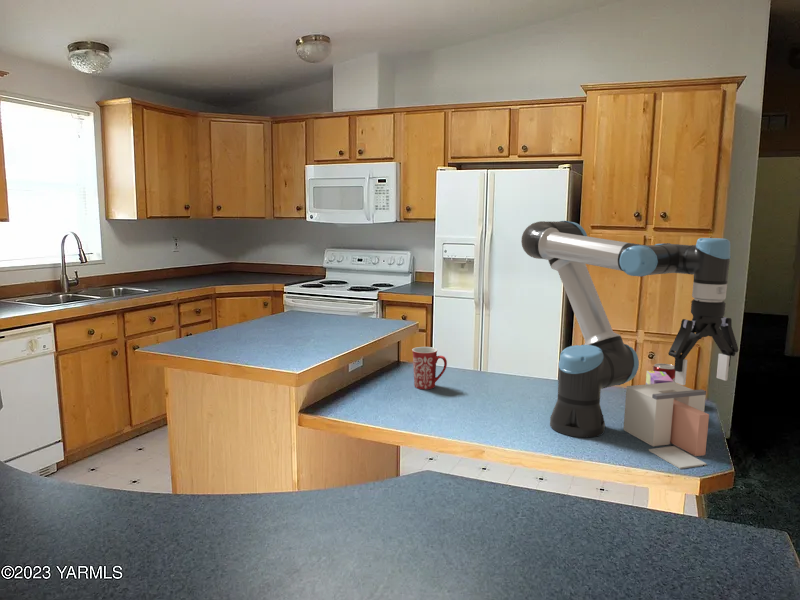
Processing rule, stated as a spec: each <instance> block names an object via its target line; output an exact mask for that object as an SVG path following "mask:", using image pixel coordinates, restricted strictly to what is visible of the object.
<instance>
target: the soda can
mask: <svg viewBox="0 0 800 600" xmlns="http://www.w3.org/2000/svg"><path fill="white" fill-rule="evenodd" d="M674 367H675V364H673V365H672V364H668V363H659V362H658V363H655V364H654V365H653V366H652V371H661V372H666V374H667V375H668V376H669V377H670V378H671V379H672V380H673V381H674V382H675V373H676V371H675V369H674Z"/></svg>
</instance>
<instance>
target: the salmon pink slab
mask: <svg viewBox="0 0 800 600" xmlns="http://www.w3.org/2000/svg"><path fill="white" fill-rule="evenodd" d="M709 420H710V414H709V413H707V412H705V411H704V412H702V411H700V410H698V409H695V408H693V407H691V406H689V405H686V404H684V403H682V402H679V401H677V400H675V399H674V401H673V413H672V424H671V436H670V444H672V445H673V446H675V447H677V448H678V449H680V450H682V451H684V452H686V453H688V454H690V455H691V456H693V457H700V456H701V457H702V456H706V452H707V451H706V449H707V439H708V432H709V431H708V429H709Z"/></svg>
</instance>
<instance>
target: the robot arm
mask: <svg viewBox="0 0 800 600" xmlns="http://www.w3.org/2000/svg"><path fill="white" fill-rule="evenodd" d="M521 246H522V249H523V251H524V252H525V254H527V255H528V256H529V257H531V258H533V259H539V260H546V261H548V263H549V266H550V269H552V270H554V271H557V273H558V275H559V278H560V280H561V283H562V285H563V287H564V290H565V293H566V295H567V298H568V300H569V303H570V305H571V309H572V311H573V314H574V316H575V319H576V321H577V323H578V325H579V329H580V332H581V334H582V337H583V339H584V344H580V345H579V344H578V345H577V344H574V345H570V346H567V347H565V348H564V349H563V350H562V351H561V352H560V355H559V362H558V377H557V379H558V381H557V383H558V384H557V400H556V402H555V404H554V407H553V410H552V412H551V415H550V418H549V426H550V428H551V429H553V430H554V431H556V432H557V433H560V434H563V435H565V436H570V437H575V438H576V437H577V438H594V437H599V436H601V435H603V434H604V433H605V427H606V421H605V418H604V415H603V411H602V408H601V393H602V391H601V390H603V389H607V388H610V387H615V386H621V385H624V384H625V383H628V382H630V381H632V380H633V379H634V378H635V377H636V375H637V372H638V370H639V368H640V367H639V366H640V365H639V364H640V362H639V360H640V359H639V356H638V354H637V351H636V350H635V349H634V348H633V347H632V346H630V345H628V344H626V343H625V342H624V341H623V338H622V336H621V334H618V333H616V332H614V331H613V328H612V325H611V323H610V320H609V318H608V316H607V313H606V311H605V308H604V305H603V304H602V302H601V299H600V296H599V294H598V291H597V288H596V286H595V284H594V281H593V279H592V276H591V274H590V272H589V269H588V266H587V265H589V266H595V267H600V268H606V269H610V270H614V271H620V272H624V273H625V274H626V275H628V276H631V277H646V276H652V275H665V274H680V275H682V274H683V275H692V276H693V283H692V293H691V296H692V298H693V299H692V300H691V305H690V313H691V315H692V319H690V320H689V319H687V318H683V319H682V320H681V323H680V328H679V330H678V331H677V334H676V337H675V338H674V340H673V343H672V344H671V347H670V349H669V351H668V352H667V353H668V356H671V357H672V358H674V366H675V367H674V369H675V371H676V373H675V383H677V384H680V385H682V386H686V380H687V371H688V359H686V358H687V356H688V354H689V353H690V352H691V351H692V349H693V348H694V347H695V345H696V344H697V343H698V341H699V340H702V338H707V337H711V338H712V339H713V341H714V342H715V345H716V346H717V348H718V349H719V351H720V352H721V353H718V356H717V367H716V368H717V369H716V379H719V380H722V381H725V382H726V381H728V379H729V378H728V377H729V369H730V368H729V367H730V366H731V358H732V357H735V355H736V353H738V352H739V347H738V343H737V340H736V337H735V334H734V331H733V327H732V326H733V325H732V324H733V323H732V318H731V317H728V316H725V313H726V312H725V311H726V302H725V300H726V298H727V288H728V277H729V270H730V269H729V267H730V260H731V259H732V258H731V241H730V240H729V239H727V238H721V237H720V238H719V237H714V238H713V237H700V238H698V239H697V240H696V244H691V245H689V244H679V243H678V244H677V243H676V244H675V243H668V242H667V243H655V244H653V245H648V244H639V243H633V242H632V243H631V242H627V241H626V242H625V241H621V240H620V241H618V240H613V239H606V238H599V237H595V236H593V237H592V236H588V234H587V232H586V230H585V229H584V227H583V226H582V225H580V224H579V223H577V222H574V221H569V220H560V221H536V222H533V223H532V224H531V223H530V224H529V225H528V226H527V227H526V228H525V229H524V230H523V232H522V235H521Z"/></svg>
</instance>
